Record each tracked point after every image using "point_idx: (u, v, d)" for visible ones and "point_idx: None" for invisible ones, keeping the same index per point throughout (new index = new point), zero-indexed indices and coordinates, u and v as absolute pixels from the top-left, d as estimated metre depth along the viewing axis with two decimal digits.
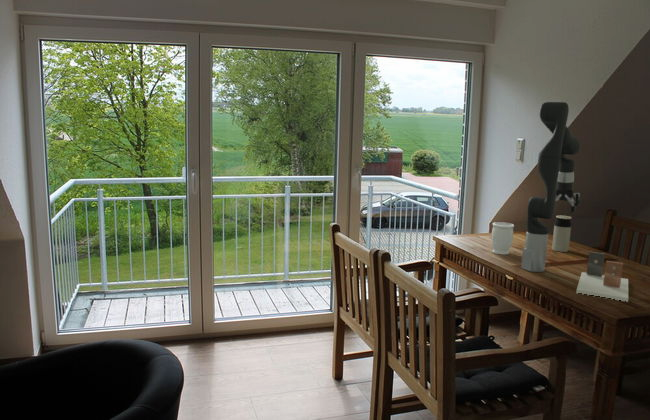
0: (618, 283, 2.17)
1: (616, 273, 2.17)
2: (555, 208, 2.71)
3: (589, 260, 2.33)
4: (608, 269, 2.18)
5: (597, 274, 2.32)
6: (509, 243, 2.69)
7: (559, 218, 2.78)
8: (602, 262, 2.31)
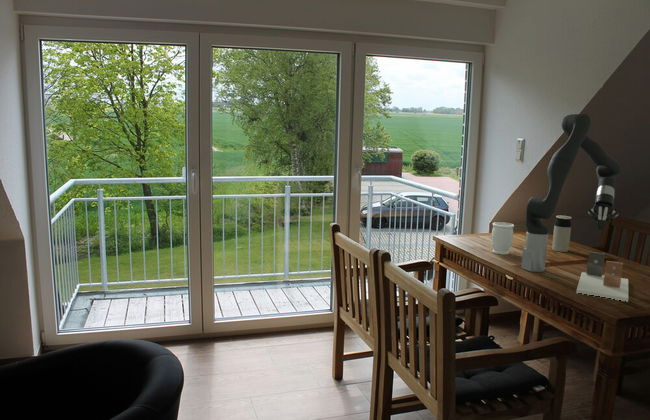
0: (618, 283, 2.17)
1: (616, 273, 2.17)
2: None
3: (589, 260, 2.33)
4: (608, 269, 2.18)
5: (597, 274, 2.32)
6: (509, 243, 2.69)
7: (559, 218, 2.78)
8: (602, 262, 2.31)
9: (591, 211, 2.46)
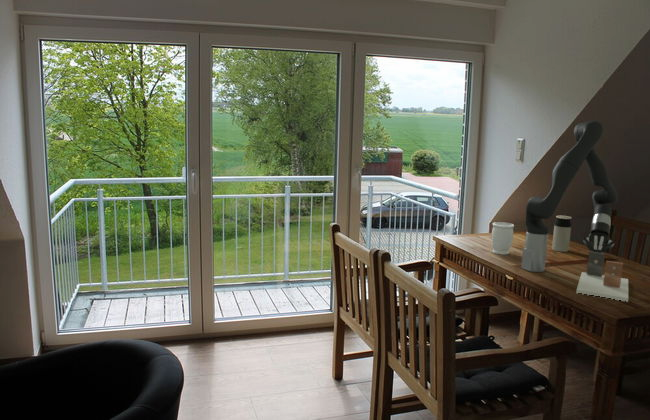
0: (618, 283, 2.17)
1: (616, 273, 2.17)
2: None
3: (589, 260, 2.33)
4: (608, 269, 2.18)
5: (597, 274, 2.32)
6: (509, 243, 2.69)
7: (559, 218, 2.78)
8: (602, 262, 2.31)
9: (586, 240, 2.38)
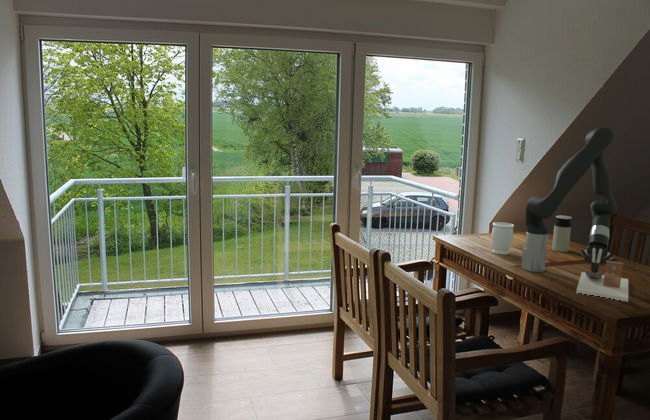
0: (618, 283, 2.17)
1: (616, 273, 2.17)
2: None
3: None
4: (608, 269, 2.18)
5: (597, 276, 2.32)
6: (509, 243, 2.69)
7: (559, 218, 2.78)
8: None
9: (584, 252, 2.30)
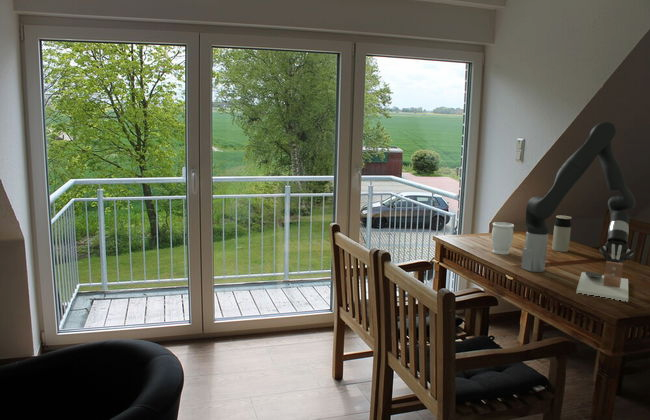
0: (618, 283, 2.17)
1: (616, 274, 2.16)
2: None
3: None
4: (608, 270, 2.17)
5: (597, 276, 2.32)
6: (509, 243, 2.69)
7: (559, 218, 2.78)
8: None
9: (603, 249, 2.23)
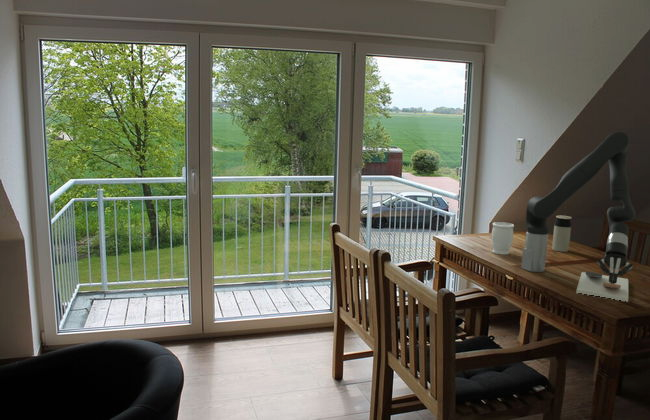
0: None
1: (614, 287, 2.13)
2: None
3: None
4: None
5: (597, 276, 2.32)
6: (509, 243, 2.69)
7: (559, 218, 2.78)
8: None
9: (601, 262, 2.16)
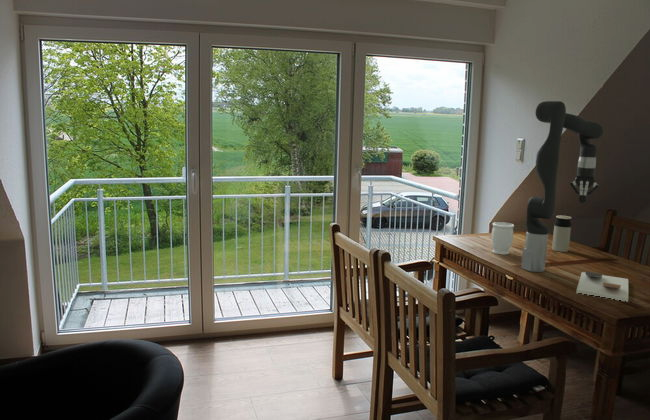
0: None
1: None
2: None
3: None
4: None
5: (597, 276, 2.32)
6: (509, 243, 2.69)
7: (559, 218, 2.78)
8: None
9: (573, 185, 2.56)
